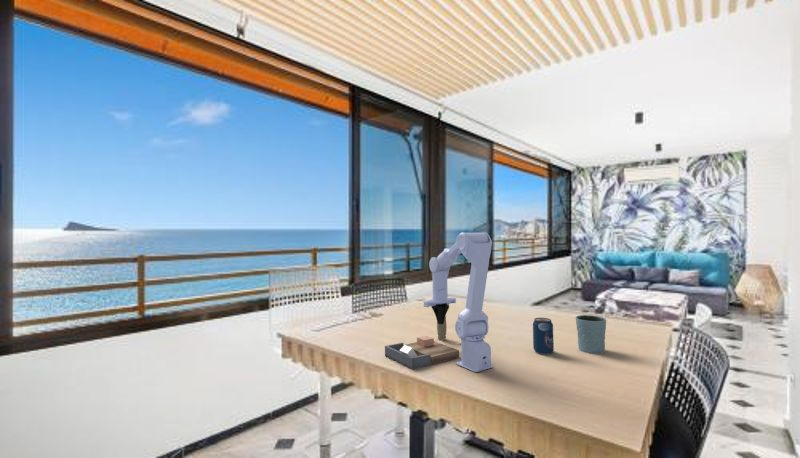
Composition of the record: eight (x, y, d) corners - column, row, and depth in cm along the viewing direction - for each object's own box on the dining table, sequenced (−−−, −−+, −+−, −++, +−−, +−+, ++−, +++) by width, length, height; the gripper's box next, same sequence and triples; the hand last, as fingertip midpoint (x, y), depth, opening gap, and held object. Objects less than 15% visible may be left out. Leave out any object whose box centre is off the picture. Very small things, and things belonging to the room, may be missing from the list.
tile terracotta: (433, 345, 135) (433, 338, 135) (424, 347, 132) (424, 340, 133) (426, 342, 139) (426, 335, 139) (417, 344, 136) (416, 337, 136)
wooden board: (459, 357, 128) (459, 350, 128) (431, 364, 121) (431, 357, 121) (429, 345, 142) (429, 339, 142) (403, 351, 135) (403, 345, 136)
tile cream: (412, 348, 121) (407, 353, 120) (418, 357, 122) (413, 363, 121) (404, 344, 125) (399, 350, 123) (410, 354, 126) (406, 359, 125)
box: (431, 364, 121) (431, 354, 121) (412, 369, 117) (411, 358, 117) (403, 351, 135) (403, 342, 136) (384, 355, 131) (384, 346, 131)
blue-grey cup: (599, 346, 139) (598, 315, 139) (612, 355, 129) (611, 321, 129) (572, 346, 140) (571, 314, 140) (582, 354, 130) (581, 320, 130)
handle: (448, 341, 148) (447, 304, 149) (433, 340, 150) (432, 303, 151) (450, 338, 153) (450, 302, 153) (435, 337, 155) (435, 301, 155)
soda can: (550, 356, 128) (550, 322, 128) (530, 352, 132) (530, 319, 132) (556, 351, 133) (555, 318, 134) (536, 348, 138) (535, 316, 138)
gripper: (447, 285, 148) (448, 319, 147) (418, 288, 140) (419, 324, 139) (459, 287, 142) (459, 322, 141) (430, 291, 134) (430, 328, 133)
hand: (440, 323), depth 140 cm, fingers closed
